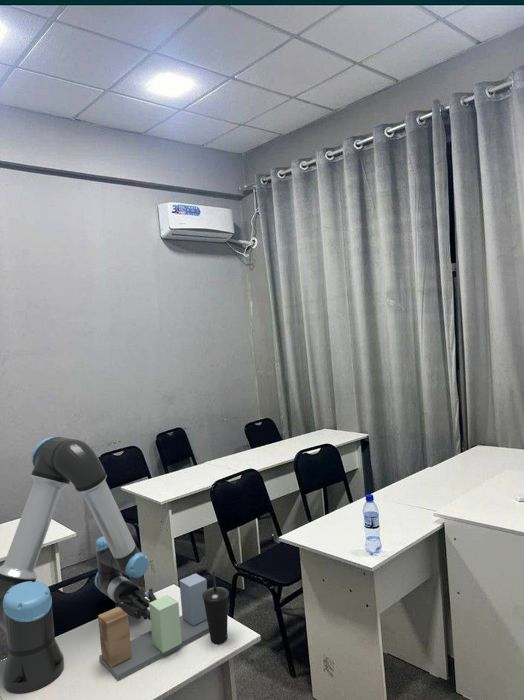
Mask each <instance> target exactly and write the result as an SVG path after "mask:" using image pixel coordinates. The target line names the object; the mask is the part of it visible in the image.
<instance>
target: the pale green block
mask: <svg viewBox="0 0 524 700" xmlns="http://www.w3.org/2000/svg"><path fill="white" fill-rule="evenodd" d="M149 608H150V619H151V620H150V627H151V629H150V631H151V630H152V641H153V645H154V646H156V647H157V648H158V649H159V650H160V651H162V652H163V653H164V652H166V651H168V650H170V649H172V648H174V647H176V646H177V645H179V644H181V643H182V639H181V627H180V616H181V615H180V607H179V601H178V600H176V599H175V598H173V597H172V596H171V595H168V594H166V595H164V596H161V597H159V598H157V600H155V601H152V602H150V603H149Z"/></svg>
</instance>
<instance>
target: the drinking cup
mask: <svg viewBox="0 0 524 700" xmlns="http://www.w3.org/2000/svg"><path fill="white" fill-rule="evenodd" d="M212 584H213V587H210V588H207V590H206V591H204V592H203V594H202V598H203V600H204V605H205V610H206V616H207V622H208V627H209V633H208V634H209V638H210V642H211V643H212V644H213V643H214V644H213V645H221V644H224V643H226V642H227V640H228V621H229V620H228V614H229V612H228V609H229V606H228V605H229V604H228V603H229V602H228V600H229V599H228V597H229V593H230V592H229V590H228V589H227V588H225V587H223V586H217V585H216V584H217V583H216V572H215V571H212Z"/></svg>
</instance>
